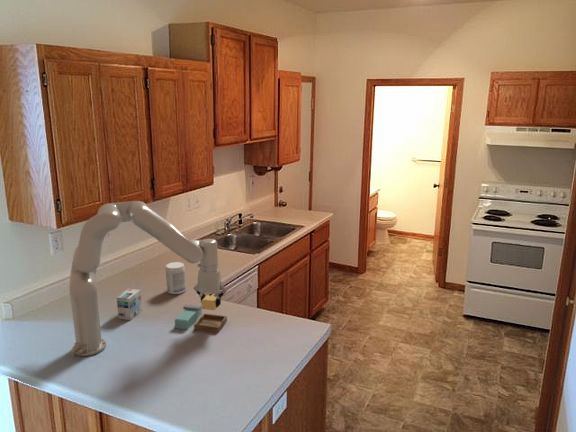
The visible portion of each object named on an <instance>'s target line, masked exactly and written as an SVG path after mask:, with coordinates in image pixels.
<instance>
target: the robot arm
mask: <svg viewBox="0 0 576 432" xmlns="http://www.w3.org/2000/svg"><path fill="white" fill-rule="evenodd" d="M126 222H131V223H132V224H134V225H135V226H136V227H138V228H139V229H141V230H142V231H144V232H145V233H147V234H148V235H150V236H151V237H152V238H154V239H156V240H157V241H158V242H159V243H161V244H162V245H163V246H164V247H166V248H168V249H169V250H170V251H172V253H175V254H176V255H177V256H178V257H180V258H181V259H183V260H185V261H186V262H187V263H189V264H197V267H199V268H200V269H199V270H198V274H197V284H195V286H194V287H193V290H194V291H195V292H196V294H197V295H198V296H199V298H200V303H201V304H202V302H201V300H202V299H204V298H205V297H206V296H207V295H206V294H209V295H211V294H213V295H214V296H216V297H217V298H216V307H217V308H219V306H220V305H221V304H222V299H221V298H222V297H223V296H224V295H225V294H226V293H228V289H227V288H226V287H225V286H224V285H223V280H222V274H221V270H220V268H219V256H218V255H219V254H218V251H219V250H218V241H217V240H216V239H215V238H204V239H188V238H187V237H186V236H184V235H183V234H182V233H181V232H180V231H179V230H178V229H177V228H176V226H174V225H173V224H172V223H171V222H170V221H168V220H166V219H165V218H164V217H162V216H160V215H159V214H158V213H157V212H155V211H154V210H153V209H151V208H150V207H149V206H148V204H146V203H145V202H143V201H142V200H141V201H140V200H132V201H121V202H120V201H119V202H110V203H104V204H103V205H102V206H100V207H99V208H98V210H97V213H96V215H93V216H91V217H90V218H89V219H88V220H87V221H86V222H85V223H84V224H83V226H82V228H81V230H80V235H79V236H80V237H79V238H78V239H79V240H78V244H77V246H76V248H75V250H74V253H73V258H72V263H71V270H70V277H69V297H70V298H69V299H70V303H71V313H72V323H73V331H74V339H75V343H73V344H74V345H73V346H72V348H71V350H69V351H68V354H69V355H70V356H74V355H75V356H79V357H90V356H93V355H96V354H99V353H100V352H101V353H102V351H103V350H105V348H106V347H107V342H106V341H105V340H104V339H102V333H101V332H102V331H101V323H100V310H99V301H98V300H99V299H98V287H97V281H96V280H97V279H96V277H97V276H96V275H97V271H98V267H99V265H100V263H101V254H102V248H103V244H104V239H105V236H106V235H107V234H109V232H112V231H115V230H116V229H118V228H119V227H120V225H121V224H122V223H126ZM221 291H222V292H221Z"/></svg>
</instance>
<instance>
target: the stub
mask: <svg viewBox="0 0 576 432" xmlns="http://www.w3.org/2000/svg"><path fill="white" fill-rule="evenodd" d="M205 296H206V297H205V298H204V299H202V300H201V299H200V303H201V302H202V303H201V306H202V310H207V311H216V309H217V308H218V307H216V298H217V297H216V295H211V294H207V295H205Z"/></svg>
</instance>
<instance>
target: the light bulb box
mask: <svg viewBox="0 0 576 432" xmlns="http://www.w3.org/2000/svg"><path fill="white" fill-rule="evenodd" d="M142 304H143V303H142V291H141V289H135V288H133V289H132V288H127V289H126V290H124V291H123V292H122V293H120V295H118V296H117V297H116V305H117V317H118V319H120V320H128V321H132V320H133V319H134V318H136V317H137V315H139V314H140V313H141V312H142V311H143V305H142Z"/></svg>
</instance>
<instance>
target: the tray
mask: <svg viewBox="0 0 576 432" xmlns="http://www.w3.org/2000/svg"><path fill="white" fill-rule="evenodd" d="M227 322H228V316H227V315H221V314H220V315H218V314H209V313H202V314H201V315H200V316H199V318H198V319H197V320H196V321H195V322H194V323H193V330H194V331H200V332H208V333H216V334H219V333H220V331H221V330H222V329H223V327H224V326H225V324H227Z"/></svg>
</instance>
